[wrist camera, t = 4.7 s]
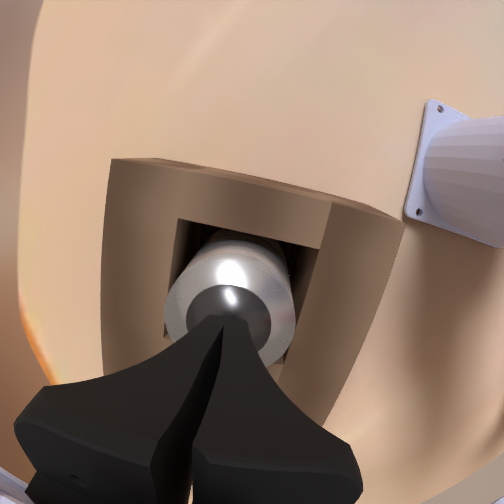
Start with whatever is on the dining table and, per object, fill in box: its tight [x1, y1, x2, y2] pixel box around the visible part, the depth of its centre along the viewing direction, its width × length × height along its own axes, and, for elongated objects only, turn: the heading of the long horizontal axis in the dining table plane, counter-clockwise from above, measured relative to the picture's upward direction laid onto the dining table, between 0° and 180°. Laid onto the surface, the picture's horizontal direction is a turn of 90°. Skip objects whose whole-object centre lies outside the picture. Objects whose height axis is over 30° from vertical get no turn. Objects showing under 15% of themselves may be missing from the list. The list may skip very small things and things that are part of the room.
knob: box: [164, 228, 296, 367], centre depth 14 cm, size 5×5×6 cm
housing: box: [101, 158, 406, 485], centre depth 18 cm, size 13×22×6 cm, turn 168°
